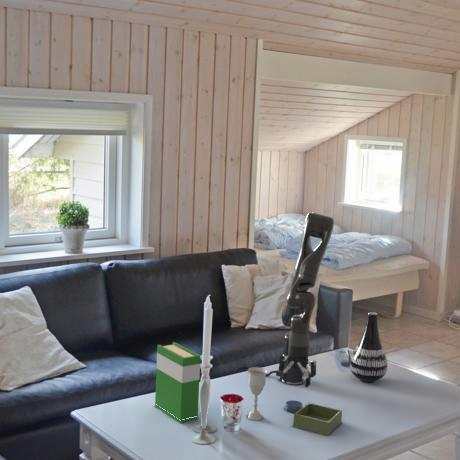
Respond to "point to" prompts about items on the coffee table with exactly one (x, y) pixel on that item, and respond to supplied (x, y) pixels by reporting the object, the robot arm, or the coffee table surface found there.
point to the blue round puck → (293, 406)
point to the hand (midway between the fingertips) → (296, 384)
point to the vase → (369, 354)
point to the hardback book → (177, 381)
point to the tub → (317, 418)
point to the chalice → (256, 388)
